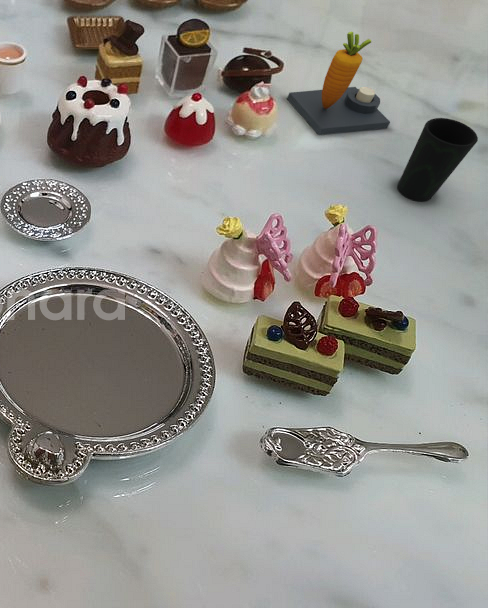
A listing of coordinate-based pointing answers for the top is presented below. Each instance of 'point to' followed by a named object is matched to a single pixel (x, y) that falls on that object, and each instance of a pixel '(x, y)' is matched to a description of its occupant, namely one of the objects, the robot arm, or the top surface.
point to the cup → (435, 157)
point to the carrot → (342, 70)
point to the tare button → (365, 94)
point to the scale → (338, 112)
